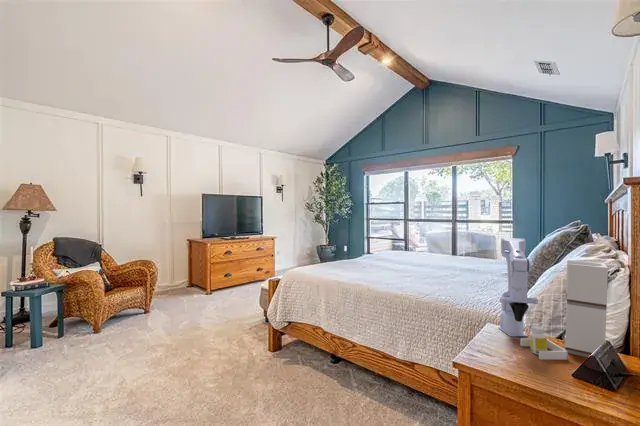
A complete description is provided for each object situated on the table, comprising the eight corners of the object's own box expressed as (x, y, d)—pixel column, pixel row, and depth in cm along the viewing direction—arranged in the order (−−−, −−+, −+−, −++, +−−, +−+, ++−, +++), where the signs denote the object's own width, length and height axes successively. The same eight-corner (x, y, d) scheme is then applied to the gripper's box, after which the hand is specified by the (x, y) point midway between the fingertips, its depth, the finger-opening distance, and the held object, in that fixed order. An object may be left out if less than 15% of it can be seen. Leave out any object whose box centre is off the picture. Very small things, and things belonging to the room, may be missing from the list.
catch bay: (520, 345, 127) (520, 338, 127) (546, 345, 127) (546, 338, 127) (539, 359, 116) (540, 351, 116) (568, 359, 116) (568, 351, 116)
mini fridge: (600, 350, 123) (604, 263, 122) (604, 361, 115) (608, 267, 114) (564, 342, 130) (567, 259, 129) (565, 352, 122) (568, 263, 120)
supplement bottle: (550, 353, 119) (549, 328, 119) (541, 356, 117) (539, 331, 117) (536, 348, 124) (534, 323, 124) (527, 351, 122) (525, 326, 122)
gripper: (507, 289, 122) (506, 324, 122) (543, 290, 122) (543, 324, 122) (497, 285, 129) (496, 318, 129) (531, 286, 129) (530, 318, 129)
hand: (518, 320), depth 126 cm, fingers closed
